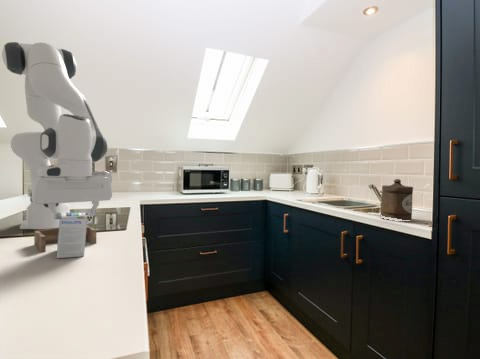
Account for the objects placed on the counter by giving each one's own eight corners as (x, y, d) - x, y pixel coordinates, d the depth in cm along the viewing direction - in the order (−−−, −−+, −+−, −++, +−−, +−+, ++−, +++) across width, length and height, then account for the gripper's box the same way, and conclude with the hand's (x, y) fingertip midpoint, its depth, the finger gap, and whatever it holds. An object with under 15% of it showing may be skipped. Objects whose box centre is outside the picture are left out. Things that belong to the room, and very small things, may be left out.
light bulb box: (57, 247, 84) (59, 212, 83) (82, 246, 87) (85, 212, 87) (56, 258, 75) (59, 218, 74) (85, 256, 78) (88, 218, 78)
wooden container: (411, 223, 141) (413, 180, 141) (379, 219, 149) (380, 178, 148) (411, 219, 154) (413, 179, 153) (381, 216, 162) (383, 178, 161)
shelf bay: (34, 244, 88) (34, 230, 88) (86, 237, 99) (85, 224, 99) (41, 252, 81) (41, 237, 81) (96, 243, 92) (96, 229, 92)
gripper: (108, 170, 91) (107, 212, 91) (30, 169, 76) (30, 219, 77) (115, 171, 86) (115, 215, 87) (34, 169, 72) (34, 223, 72)
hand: (74, 217), depth 82 cm, fingers open, 8 cm apart
